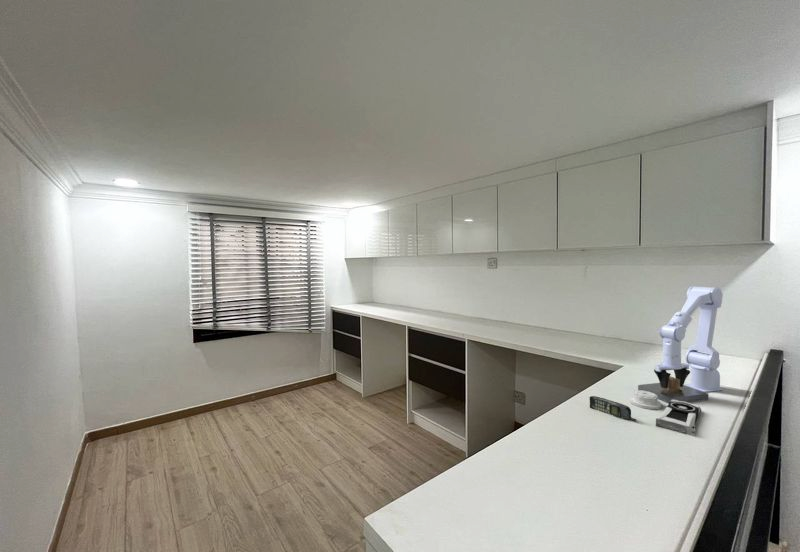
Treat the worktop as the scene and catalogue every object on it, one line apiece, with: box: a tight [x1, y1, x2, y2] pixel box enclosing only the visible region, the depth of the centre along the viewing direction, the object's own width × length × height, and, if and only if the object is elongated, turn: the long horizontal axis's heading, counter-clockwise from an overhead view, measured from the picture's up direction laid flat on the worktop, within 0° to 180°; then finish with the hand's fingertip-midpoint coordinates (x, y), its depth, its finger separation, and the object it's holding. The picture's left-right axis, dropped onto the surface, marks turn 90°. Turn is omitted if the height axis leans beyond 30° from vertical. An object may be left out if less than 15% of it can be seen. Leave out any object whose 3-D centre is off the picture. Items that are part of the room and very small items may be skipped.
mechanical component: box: [629, 389, 662, 410], centre depth 127 cm, size 10×4×10 cm
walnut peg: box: [663, 375, 680, 392], centre depth 135 cm, size 4×4×7 cm
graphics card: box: [655, 400, 702, 437], centre depth 114 cm, size 10×3×25 cm
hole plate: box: [637, 382, 709, 405], centre depth 134 cm, size 18×14×2 cm
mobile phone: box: [589, 395, 637, 422], centre depth 120 cm, size 5×3×15 cm
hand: (671, 387), depth 134 cm, fingers open, 7 cm apart
